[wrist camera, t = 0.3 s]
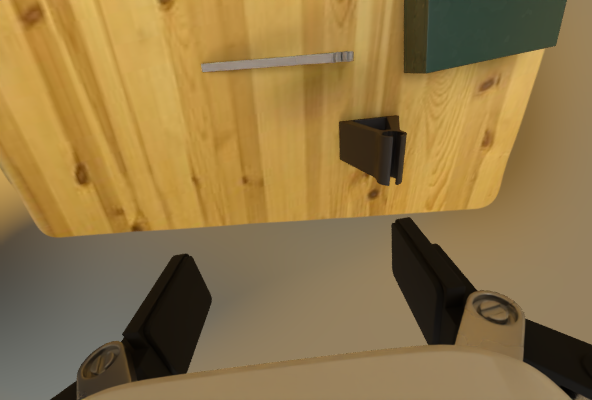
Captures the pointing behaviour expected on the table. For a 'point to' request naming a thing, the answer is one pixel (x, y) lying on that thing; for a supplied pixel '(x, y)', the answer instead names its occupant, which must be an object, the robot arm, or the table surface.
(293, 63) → the grey bent bar
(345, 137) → the phone stand
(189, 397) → the robot arm
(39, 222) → the table surface
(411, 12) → the cabinet
